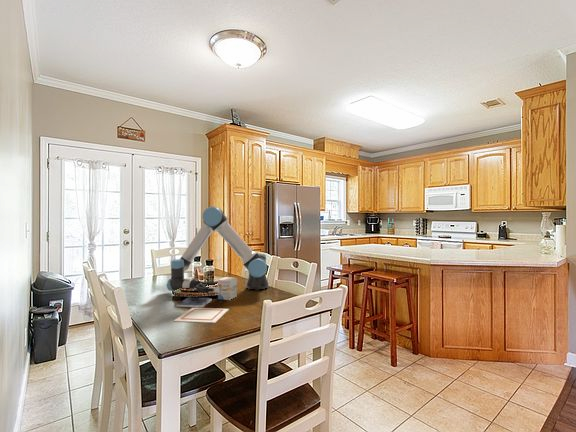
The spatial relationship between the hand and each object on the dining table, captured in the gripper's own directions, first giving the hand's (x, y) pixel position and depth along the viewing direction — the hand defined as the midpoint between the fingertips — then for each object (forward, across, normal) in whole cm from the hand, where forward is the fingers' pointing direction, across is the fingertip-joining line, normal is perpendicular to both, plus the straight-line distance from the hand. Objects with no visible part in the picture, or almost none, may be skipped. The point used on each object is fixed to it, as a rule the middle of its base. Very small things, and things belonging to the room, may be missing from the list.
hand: (224, 287), depth 182 cm
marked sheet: (+3, +32, -6) cm, 32 cm away
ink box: (+2, 0, -7) cm, 7 cm away
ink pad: (-12, +14, -6) cm, 19 cm away
